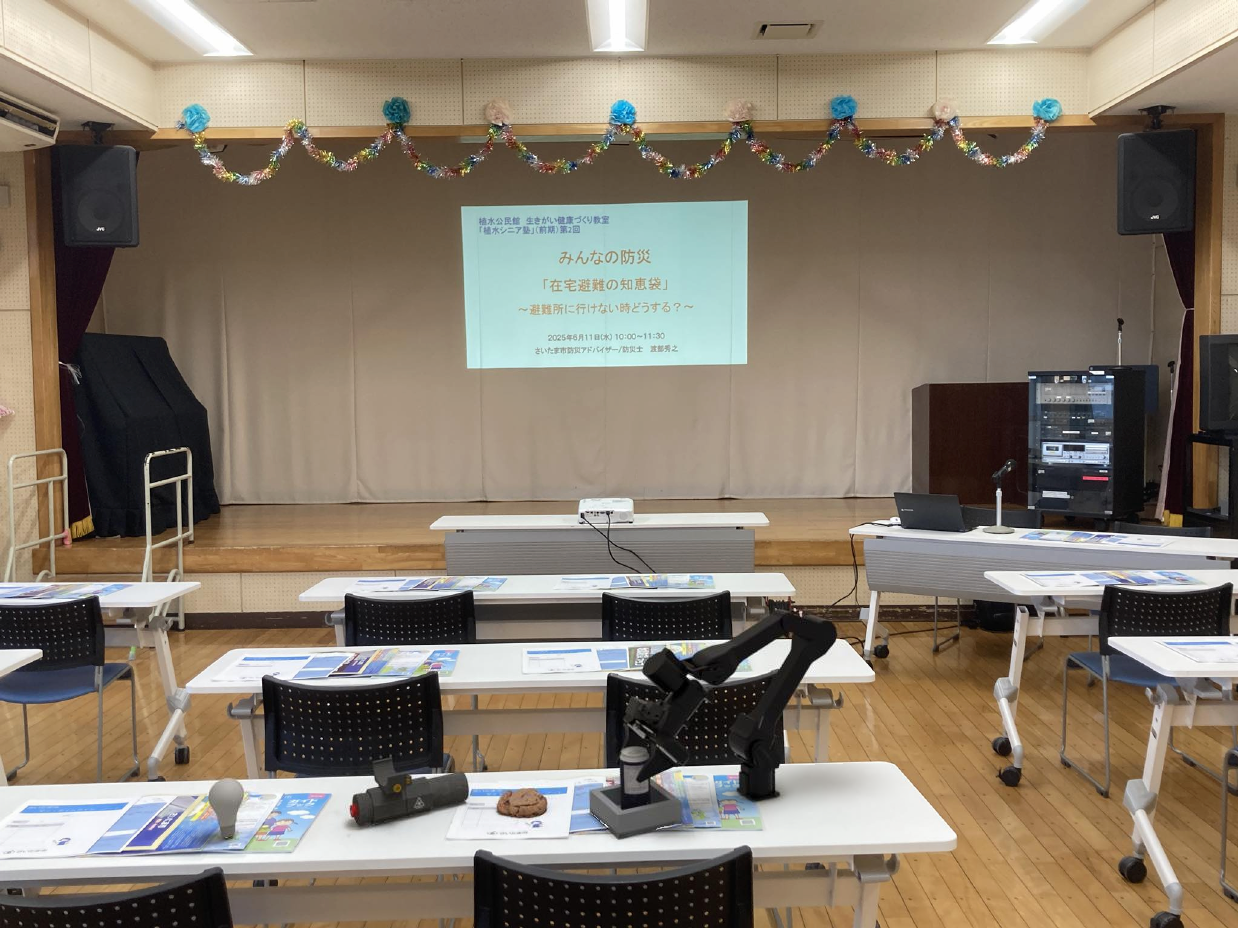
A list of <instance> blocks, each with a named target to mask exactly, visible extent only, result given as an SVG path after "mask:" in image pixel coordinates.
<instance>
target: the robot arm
mask: <svg viewBox="0 0 1238 928" xmlns="http://www.w3.org/2000/svg"><path fill="white" fill-rule="evenodd" d="M787 633H792V635H791V639H790V640H791V641H790V642H791V643H790V650H789V652H788V653H787V656H786V657H785V659H784V660H783V662H782V664H781V665H780V667H779V668H778V670H777V672H776V674H775V676H774V677H773V679H772V680H771V682H770V683H769V685H768V687H767V688H766V691H765V692H764V694H763V696H762V697H761V698H760V700H759V702H758V703H757V705H756V707H755V708H754V709H753V711H751V712H750V713H748V714H745V713H743V712H740V713H739V714H738V715H737V717H736V720H735V721H734V723H733V725H732V726H730V727H729V728H728V729H729V730H730V732H729V734H728V739H727V740H728V743H729V746H730V749H731V750H732V751H733V752H735V755H736V758H737V759H739V760H741V761H742V762H741V763H740V764H739V765H740V770H739V772H738V787H736V792H738V793H739V794H741V795H743V796H744V797H746V798H747V799H749V800H750V801H752V802H758V801H762V800H766V799H770V798H771V799H773V798H774V797H779V796H781V792H780V791H778V790H777V789H776V770H777V769H779V768H780V765H781V761H782V757H781V756H780V755H779V754H778V753H777V752H776V751H774V750H773V749H772V746H773V743H774V742H775V734H776V733H775V732H776V724H777V722H778V720H779V719H780V717H781V715H782V714H783V712H784V710H785V709H786V707H787V705H788V704H789V702H790V701H791V699H792V697H793V695H794V694H795V692H796V690H797V689H798V687H799V686H800V684H801V682H802V680H804V677H805V675H806V673H807V672H808V671H809V669H810V667H811V665H812V664H813V663H815V662H816V661H817V660H819V659H820V658H823V656H825V655H826V654H827V653H828V652H829V650H830V649H831V648H832V647H833V645H834V644H835V643H836V642H837V639H838V631H837V628H836V625H835V624H834V622H832V621H831V620H828V619H825V618H823V617H819V616H816V615H813V614H806V615H802V616H799V615H796V614H794V612H791V611H789V610H784V609H782V608H781V609H780V608H777V609H774V610H773V611H772V612H771V613H770V614H769V615H767V616H766V617H764V618H762V619H761V620H760V621H758V622H757V623H755V624H754V625H751V626H750V627H749V628H747V629H746V630H744V631H742V632H741V633H739V634H737V635H736V636H734V637H733V638H731V639H729V640H727V641H725V642H723V643H718V644H717V643H716V644H712V645H709V646H707V647H705V648H702V649H700V650H698V651H696V652H695V653H694V654H693V655H692V656H689V657H686V658H683V659H680V658H678V657H677V656H676V655H675V653H674V652H673V651H672V650H671V649H670V648H668V647H666V646H664V647H663V648H662V650H661V651H658V652H655V653H654V654H653V655H651V656H649V657H648V658H647V659H646V661H645V662H644V663H643V667H642V671H641V672H642V674H643V676H644V677H646V679H648V680H649V681H650V682H651V683H652V684H653V685H654V686H655V687H656V688H658V689H659V690H660V691H661V692H662V693H663V694H668V693H669V694H668V696H667V697H666V698H665V700H662V699H658V700H657V701H656V702H654V701H652V700H648V701H647V700H644V699H641V698H638V697H635V696H630V699H629V702H628V705H627V707H626V709H625V713H626V714H625V715H624V716H623V718H622V719H623V721H624V723H623V727H624V732H625V737H624V741H623V743H622V746H621V748H620V751H619V754H618V757H617V759H616V762H615V763H616V764H615V765H617V766H618V767H620V756H621V754H622V753H621V751H622V750H623V749H625V748H627V747H642V748H645V749H646V747H648V746H649V745H650V742H651V740H653V741H654V742H655V743H653V742H651V745H650V746H651V747H650V755H649V758H648V760H647V761H646V763H645V764H644V766H643V767H642V769H641V771H640V772H639V774H638V776H637V777H636V781H637V782H639V783H641V782H643V781H645V780H647V779H649V778H651V779H652V778H653V777H655V776H657V775H659V774H661V773H663V772H665V771H668V770H671V769H672V768H673V769H674V768H678V767H679V765H681V766H682V767H684V766H685V765H686V764H687V762H688V761H689V759H690V750H688V748H686V747H685V745H683V744H682V743H681V742H680V741H679V740H678V739H676V736H677V735H678V733H679V732H680V731H681V729H682V728H683V727H686V728H687V729H688V728H689V727H690V725H691V724H692V723H691V722H690V721H689V719H690V718H691V717H692V715H693V714H694V713H695V711H696V710H697V709H698V708H699V706H700V705H701V704H702V702H703V701H706V702H707V703H710V704H711V705H713V704H715V696H714V691H715V690H714V689H713V688H712V687H709V686H710V685H711V686H715V687H716V686H721V685H722V684H724V683H725V682H726V681H727V680H728V679H730V678H731V677H732V676H733V675H734V674H735V673H736V671H737V669H738V667H739V666H740V664H742V662H744V661H746V660H747V659H748V658H749V657H751V656H753V655H754V654H755V653H757V652H759V651H761V650H762V649H763V648H765V647H766V646H767V647H768V645H771V643H773V642H774V641H777V640H778V639H779V638H781V637H782V636H784V635H785V634H787ZM688 675H689V676H690V677H692V678H693V679H690V678H689V677H688ZM700 681H702V682H705V683H706V684H708V685H709V686H704V685H703V684H702V683H701V682H700ZM647 741H648V742H647ZM656 744H657V745H658V746H659V747H658V746H657V745H656Z"/></svg>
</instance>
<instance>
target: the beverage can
mask: <svg viewBox="0 0 1238 928" xmlns="http://www.w3.org/2000/svg"><path fill="white" fill-rule="evenodd" d="M620 751H621V750H620ZM621 753H622V754H621V756H620V766H619V781H620V782H619V784H620V794H621V810H626V809H631V808H635V807H640V806H645V805H649V804H651V794H650V778H649V779H647V780H645V781H643V782H641V783H639V782H637V781H636V777H637V776H638V774H639V772H640V771H641V769H642V767H643V766H644V764H645V763H646V761H647V760H648V758H649V757H650V755H649V754H648V750H647V748H646V747H645V748H642V747H627V748H625V749H623V750H622V751H621Z"/></svg>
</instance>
